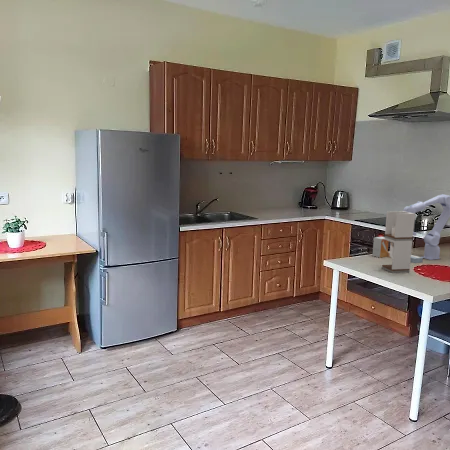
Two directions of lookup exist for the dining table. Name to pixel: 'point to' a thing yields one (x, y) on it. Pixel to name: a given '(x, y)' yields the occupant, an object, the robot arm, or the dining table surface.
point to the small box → (380, 247)
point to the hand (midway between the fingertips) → (405, 244)
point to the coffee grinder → (399, 240)
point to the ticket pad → (416, 259)
